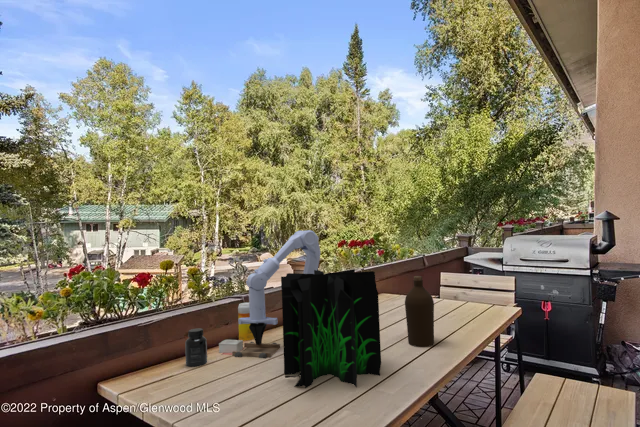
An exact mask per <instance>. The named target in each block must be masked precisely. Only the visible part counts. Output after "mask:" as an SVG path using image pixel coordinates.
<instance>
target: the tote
mask: <svg viewBox="0 0 640 427" xmlns="http://www.w3.org/2000/svg"><path fill="white" fill-rule="evenodd" d="M243 347H244V341H243V340H239V339H224V340H222V341H221V342H219V343H218V353H219V354H222V353H232V352H233V351H241V352H242V351H243V350H244V349H243ZM242 349H243V350H242Z"/></svg>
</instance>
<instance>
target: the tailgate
mask: <svg viewBox="0 0 640 427" xmlns="http://www.w3.org/2000/svg"><path fill="white" fill-rule="evenodd" d="M243 350H245V347H244V346H243V349H242V350H241V351H243ZM220 355H225V356H226V355H227V356H232V353H220Z"/></svg>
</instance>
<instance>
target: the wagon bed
mask: <svg viewBox="0 0 640 427" xmlns="http://www.w3.org/2000/svg"><path fill="white" fill-rule="evenodd" d="M243 347H244V349H243V350H241V351H233V352H232V355H231V356H232V357H234V358H242V357H243V358H245V357H246V358H258V359H267V358H268V359H270V358H271V357H273V356H274V355H275V354H276V353H277V352H278V351H279V350H280V349H281V343H276V342H272V343H261V344H260V345H256V342H255V341H250V342H245V343H244V342H243Z"/></svg>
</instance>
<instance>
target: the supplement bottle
mask: <svg viewBox="0 0 640 427" xmlns="http://www.w3.org/2000/svg"><path fill="white" fill-rule="evenodd" d="M187 332H188V333H187V337H188V338H187V339H186V340H185V345H184V346H185V366H186V367H187V368H197V367H202V366H205V365H207V363H208V347H207V346H208V345H207V340H208V339H207V338H206V337H205V336H204V329H203V328H201V327H199V328H192V329H189V330H188V331H187Z"/></svg>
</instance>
